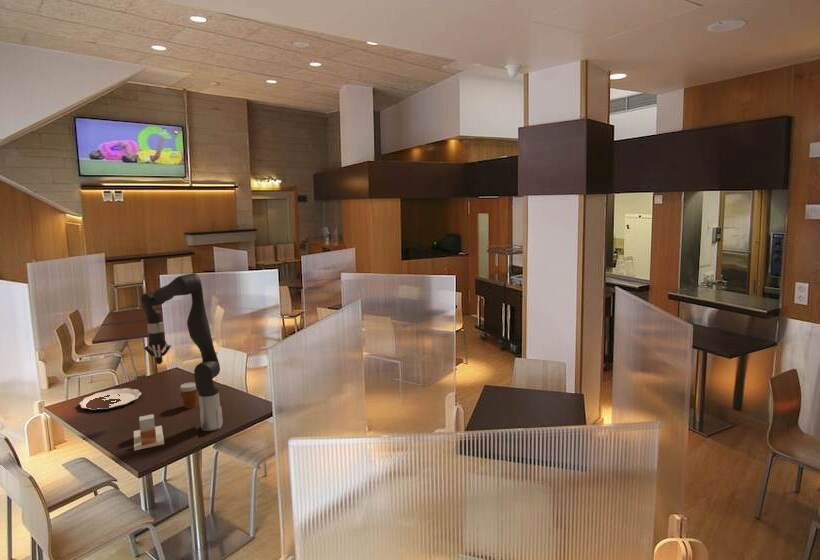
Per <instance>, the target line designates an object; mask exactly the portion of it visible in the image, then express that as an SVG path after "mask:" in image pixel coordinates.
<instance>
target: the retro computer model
mask: <svg viewBox="0 0 820 560" xmlns="http://www.w3.org/2000/svg"><path fill="white" fill-rule="evenodd" d="M138 421H139V430H140V431H143V430H148V429H153V428H155V427H156V425H155V415H154V413H153V414H152V413H151V414H146V415H141V416H139V417H138Z"/></svg>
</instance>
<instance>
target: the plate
mask: <svg viewBox="0 0 820 560" xmlns="http://www.w3.org/2000/svg"><path fill="white" fill-rule="evenodd" d="M118 394H119V395H120V396H119V395H118ZM107 395H110V396H109V397H104V396H107ZM141 395H142V392H141V391H139V389H134V388H130V387H126V388H117V389H116V388H114V389H109V390H105V391H101V392H100V391H99V392H96V393H94V394H92V395H90V396H87V397H84V398H83V400H81V401H80V402H79V403H78V405H79V406H80V408H81V409H85V410H89V409H90V411H96V410H99V411H107V410H108V409H109V410H114V409H118V408H122V407H124V405H125V406H127V405H129V404H130V403H133V402H134V401H136V400H137V399H139V397H140V396H141ZM99 397H104V398H106V399H102V400H104V401H105V400H109V399H120V400H121V401H119V402H117V403H114V404H109V405H111V406H109V408H97V409H91V408H87V407H86V404H87V403H88V402H89V401H90V400H93V399H95V398H99ZM111 402H116V400H115V401H111ZM121 406H122V407H121ZM113 408H114V409H113ZM109 410H108V411H109Z"/></svg>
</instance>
